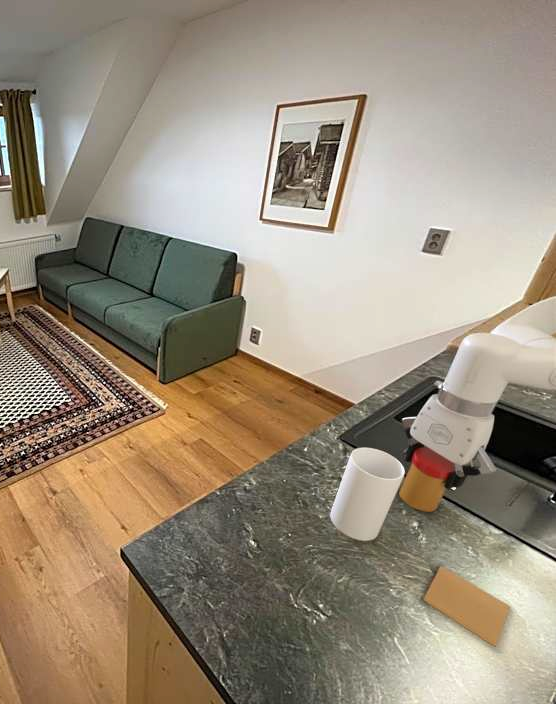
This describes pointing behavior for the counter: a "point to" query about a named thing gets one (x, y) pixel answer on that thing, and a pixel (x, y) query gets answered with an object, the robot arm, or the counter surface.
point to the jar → (422, 490)
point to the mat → (467, 605)
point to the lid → (432, 463)
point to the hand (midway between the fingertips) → (430, 472)
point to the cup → (366, 493)
